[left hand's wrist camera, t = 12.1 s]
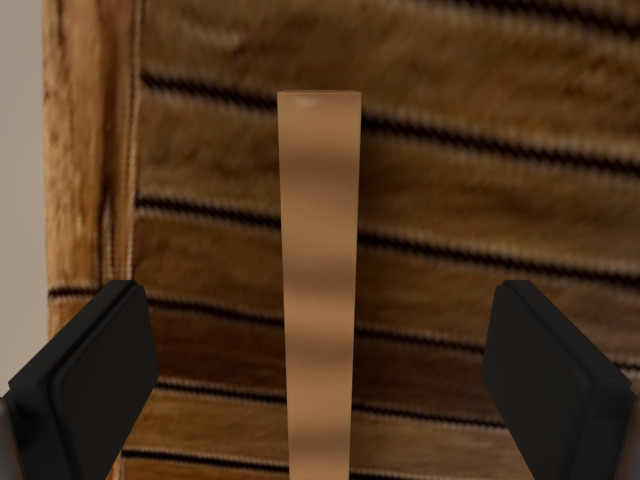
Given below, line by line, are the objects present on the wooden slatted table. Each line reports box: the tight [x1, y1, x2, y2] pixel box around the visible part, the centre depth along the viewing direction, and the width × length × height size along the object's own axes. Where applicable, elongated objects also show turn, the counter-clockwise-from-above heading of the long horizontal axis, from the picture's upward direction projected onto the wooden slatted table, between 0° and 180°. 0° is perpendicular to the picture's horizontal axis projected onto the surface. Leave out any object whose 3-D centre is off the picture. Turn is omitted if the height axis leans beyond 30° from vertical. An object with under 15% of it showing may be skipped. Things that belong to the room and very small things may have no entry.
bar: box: [277, 90, 362, 480], centre depth 35 cm, size 50×5×6 cm, turn 0°
